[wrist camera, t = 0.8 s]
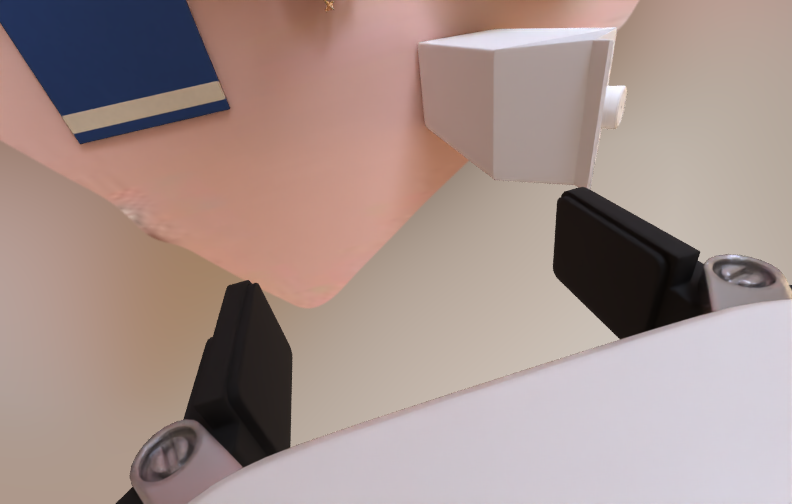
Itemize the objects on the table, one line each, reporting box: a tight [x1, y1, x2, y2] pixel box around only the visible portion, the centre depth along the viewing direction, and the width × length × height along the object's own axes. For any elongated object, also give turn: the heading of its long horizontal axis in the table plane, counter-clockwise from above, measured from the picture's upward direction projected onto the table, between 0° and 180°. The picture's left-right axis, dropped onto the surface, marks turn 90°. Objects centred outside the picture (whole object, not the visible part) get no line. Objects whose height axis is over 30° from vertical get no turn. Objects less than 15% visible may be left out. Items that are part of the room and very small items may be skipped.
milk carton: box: [418, 28, 627, 190], centre depth 26 cm, size 7×7×19 cm
